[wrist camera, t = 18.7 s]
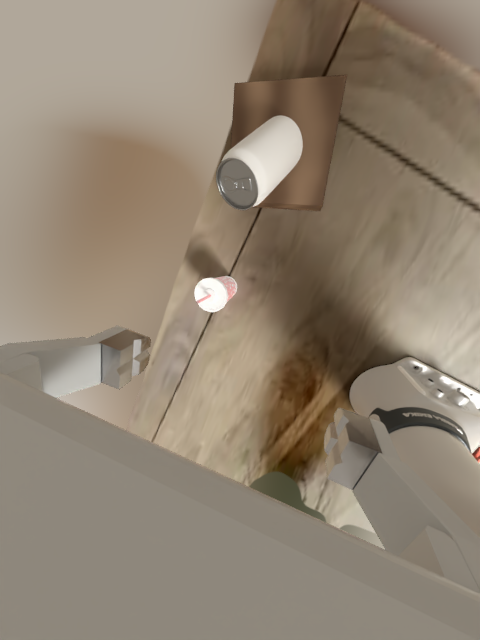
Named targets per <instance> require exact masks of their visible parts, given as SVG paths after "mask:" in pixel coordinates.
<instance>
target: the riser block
mask: <svg viewBox="0 0 480 640" xmlns="http://www.w3.org/2000/svg"><path fill="white" fill-rule="evenodd" d="M346 78H347V75H338V76H324V77H311V78H298V79H285V80H272V81H258V82H245V83H235V87H234V104H233V121H232V138H231V148H233V147H234V146H235V145H236V144H238V143H239V142H240V141H242V140H243V139H244V138H246V137H247V136H248V135H249V134H251V133H252V132H253V131H255V130H256V129H257V128H259V127H260V126H261V125H263V124H264V123H265V122H267V121H268V120H269V119H271V118H273V117H275V116H280V115H282V116H286V117H289V118H290V119H292V120H293V121H294V122H295V123H296V124H297V126H298V128H299V130H300V132H301V135H302V141H303V148H302V154H301V157H300V159H299V161H298V163H297V164H296V165H295V167H294V168H293V169H292V170H291V171H290V172H289V173H288V174H287V175H286V177H285V178H284V179H283V180H282V181H281V182H280V183H279V184H278V185H277V186H276V187H275V188H274V190H273V191H272V192H271V193H270V194H269V195H268V196H267V197H266V198H265V199H264V200H263V201H262V202H261V203H260V204H258V205H257V206H254V207H259V208H277V209H295V210H313V211H320V210H321V208H322V206H323V200H324V195H325V190H326V184H327V179H328V174H329V168H330V163H331V158H332V153H333V147H334V142H335V137H336V131H337V126H338V121H339V116H340V110H341V105H342V100H343V94H344V89H345V84H346Z"/></svg>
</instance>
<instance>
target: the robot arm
mask: <svg viewBox="0 0 480 640" xmlns="http://www.w3.org/2000/svg"><path fill="white" fill-rule="evenodd" d="M150 343H151V340H150V338H149V337H148V336H145V335H143V334H140V333H137V332H135V331H132V330H129V329H127V328H124V327H122V326H115V327H113V328H110V329H108V330H105V331H103V332H101V333H98V334H96V335H94V336H91V337H89V338H85V337H80V338H69V339H68V338H67V339H56V340H44V341H33V342H21V343H10V344H5V345H2V346H0V640H480V464H479V462H480V447H478V446H479V445H480V409H479V408H480V392H478V391H476V390H475V389H473V388H471V387H469V386H467V385H465V384H463V383H461V382H459V381H457V380H455V379H453V378H451V377H449V376H447V375H446V374H444V373H442V372H440V371H438V370H436V369H434V368H432V367H430V366H428V365H426V364H424V363H422V362H420V361H418V360H417V359H415V358H412V357H407V358H404V359H401V360H399V361H397V362H395V363H394V364H390V365H384V366H378V367H375V368H372V369H369V370H367V371H365V372H364V373H362V374H361V375H360V376H359V377H357V379H356V380H355V381H354V382H353V384H352V386H351V389H350V402H351V405H352V407H353V409H354V410H355V412H356V413H357V414H356V413H353V412H350V411H347V410H344V409H342V408H338V409H337V410H336V412H335V414H334V420H335V422H333V423H331V424H329V426H328V428H327V430H326V434H325V438H324V450H325V452H326V453H327V454H328V457H327V459H326V461H325V462H326V472H327V479H329V480H332V481H334V482H336V483H338V484H340V485H342V486H345V487H347V488H349V489H351V490H353V491H352V492H353V493H354V495H355V497H356V499H357V500H358V502H359V504H360V506H361V507H362V509H363V511H364V513H365V514H366V516H367V518H368V520H369V521H370V523H371V525H372V527H373V528H374V530H375V532H376V534H377V535H378V537H379V539H380V541H381V542H382V544H383V546H384V548H385V550H384V549H382V548H380V547H378V546H375V545H373V544H371V543H369V542H367V541H365V540H362V539H360V538H358V537H356V536H354V535H352V534H349V533H347V532H345V531H343V530H341V529H339V528H336V527H334V526H332V525H330V524H328V523H326V522H323V521H321V520H319V519H317V518H315V517H312V516H310V515H308V514H306V513H304V512H302V511H300V510H297V509H295V508H293V507H291V506H289V505H287V504H284V503H282V502H280V501H278V500H276V499H274V498H272V497H269V496H267V495H265V494H263V493H261V492H258V491H256V490H254V489H252V488H250V487H248V486H246V485H243V484H241V483H239V482H237V481H235V480H233V479H231V478H228V477H226V476H224V475H222V474H220V473H218V472H215V471H213V470H211V469H209V468H207V467H205V466H202V465H200V464H198V463H196V462H194V461H192V460H189V459H187V458H185V457H183V456H181V455H179V454H176V453H174V452H172V451H170V450H168V449H166V448H163V447H161V446H159V445H157V444H155V443H153V442H150V441H148V440H146V439H144V438H142V437H140V436H137V435H135V434H133V433H131V432H129V431H127V430H124V429H122V428H120V427H118V426H116V425H114V424H111V423H109V422H107V421H105V420H103V419H100V418H98V417H96V416H94V415H92V414H90V413H88V412H85V411H83V410H81V409H79V408H77V407H74V406H72V405H70V404H68V403H66V402H64V401H61V400H59V399H57V398H58V397H61V396H64V395H67V394H70V393H73V392H76V391H79V390H82V389H86V388H88V387H92V386H95V385H98V384H101V383H104V384H106V385H109V386H111V387H114V388H117V389H121V388H122V387H123V386H125V385H126V384H127V383H128V382H130V381H131V379H132V376H134V375H139V374H140V373H141V372H142V371H144V369H145V368H146V366H147V365H148V362H149V356H150V355H149V353H148V351H147V349H148V348H149V347H150ZM415 366H417V368H414V367H415ZM477 447H478V448H477ZM476 448H477V449H476ZM475 449H476V451H475V452H474V453H473V454H471V453H472V452H473V451H474V450H475Z"/></svg>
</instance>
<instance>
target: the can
mask: <svg viewBox="0 0 480 640" xmlns="http://www.w3.org/2000/svg"><path fill="white" fill-rule="evenodd" d="M302 148H303V141H302V135H301V132H300V130H299V128H298V126H297V124H296V123H295V122H294V121H293V120H292V119H290V118H289V117H286V116H282V115H280V116H275V117H273V118H271V119H269V120H268V121H267V122H265V123H264V124H263V125H261V126H260V127H259V128H257V129H256V130H255V131H253V132H252V133H251V134H249V135H248V136H247V137H246V138H244V139H243V140H242V141H240V142H239V143H238V144H236V145H235V146H234V147H233V148H231V149H230V150H229V151H228V152H227V153H226V154H225V156H224V157H223V159H222V162H221V163H220V164H219V166H218V169H217V173H216V182H217V186H218V189H219V192H220V194H221V196H222V197H223V199H224V200H225V201H226V202H227V203H228V204H229V205H230V206H232V207H233V208H235V209H238V210H248V209H250V208H251V207H254V206H257V205H258V204H260V203H261V202H262V201H263V200H264V199H265V198H266V197H267V196H268V195H269V194H270V193H271V192H272V191H273V190H274V188H275V187H276V186H277V185H278V184H279V183H280V182H281V181H282V180H283V179H284V178H285V177H286V175H287V174H288V173H289V172H290V171H291V170H292V169H293V168H294V167H295V165H296V164H297V163H298V161H299V159H300V157H301V154H302Z"/></svg>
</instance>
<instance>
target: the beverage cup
mask: <svg viewBox="0 0 480 640" xmlns="http://www.w3.org/2000/svg"><path fill="white" fill-rule="evenodd" d="M236 291H237V283H236V282H235V280H234V279H233V278H232V277H229V276H222V277H217V278H205V279H203V280H201V281H200V282H198V284H197V286H196V287H195V299H196V303H197V304H198V305H199V306H200V307H201V308H202V309H204V310H205V311H209V312H217V311H219V310H220V309H222V308H223V307H224V306H225V304H226V303H227V301H228V300H229V299H230V298H231V297H232V296H233V295H234V294H235V293H236Z"/></svg>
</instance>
